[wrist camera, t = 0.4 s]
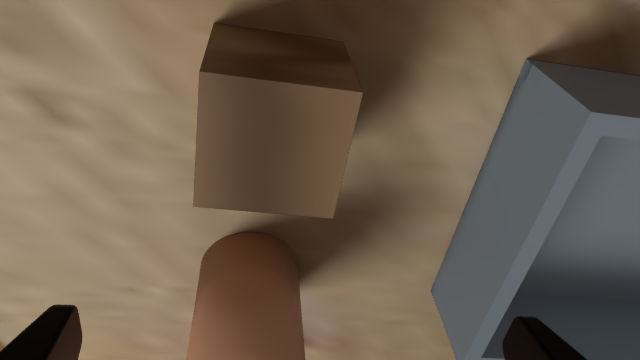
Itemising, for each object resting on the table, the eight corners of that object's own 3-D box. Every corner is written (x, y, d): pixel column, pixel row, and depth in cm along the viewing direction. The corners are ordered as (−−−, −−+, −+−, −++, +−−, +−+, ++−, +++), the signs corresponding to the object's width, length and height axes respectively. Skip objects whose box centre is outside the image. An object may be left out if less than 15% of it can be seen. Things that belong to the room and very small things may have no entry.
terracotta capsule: (314, 279, 27) (328, 399, 21) (235, 315, 28) (228, 439, 22) (265, 216, 24) (266, 333, 18) (180, 258, 25) (155, 382, 19)
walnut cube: (342, 41, 20) (362, 92, 16) (320, 149, 22) (333, 218, 18) (214, 22, 19) (199, 71, 15) (207, 137, 21) (193, 206, 17)
